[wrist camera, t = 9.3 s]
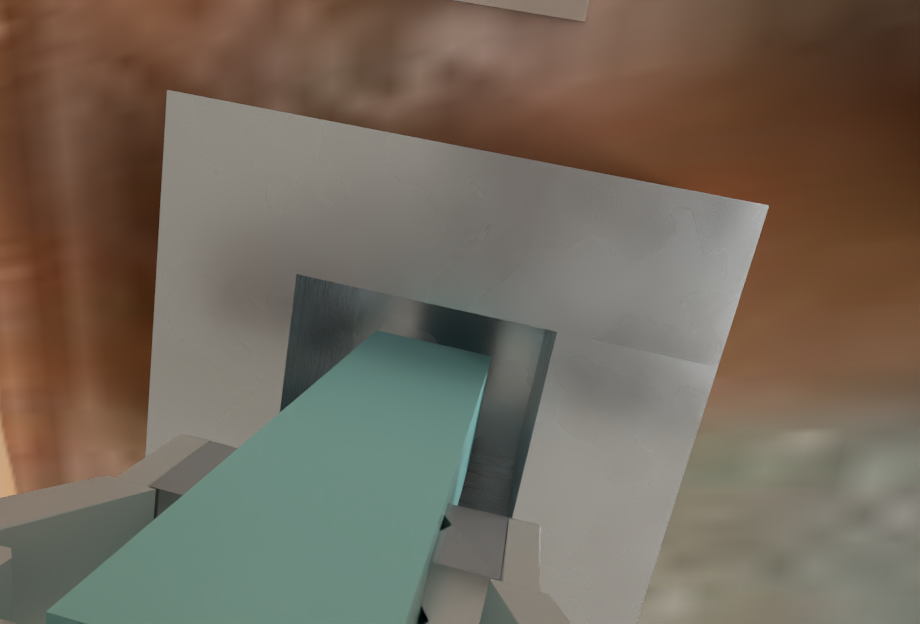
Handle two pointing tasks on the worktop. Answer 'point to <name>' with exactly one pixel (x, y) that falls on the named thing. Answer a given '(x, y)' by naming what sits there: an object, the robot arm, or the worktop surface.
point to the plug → (310, 505)
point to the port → (454, 313)
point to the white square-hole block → (542, 7)
